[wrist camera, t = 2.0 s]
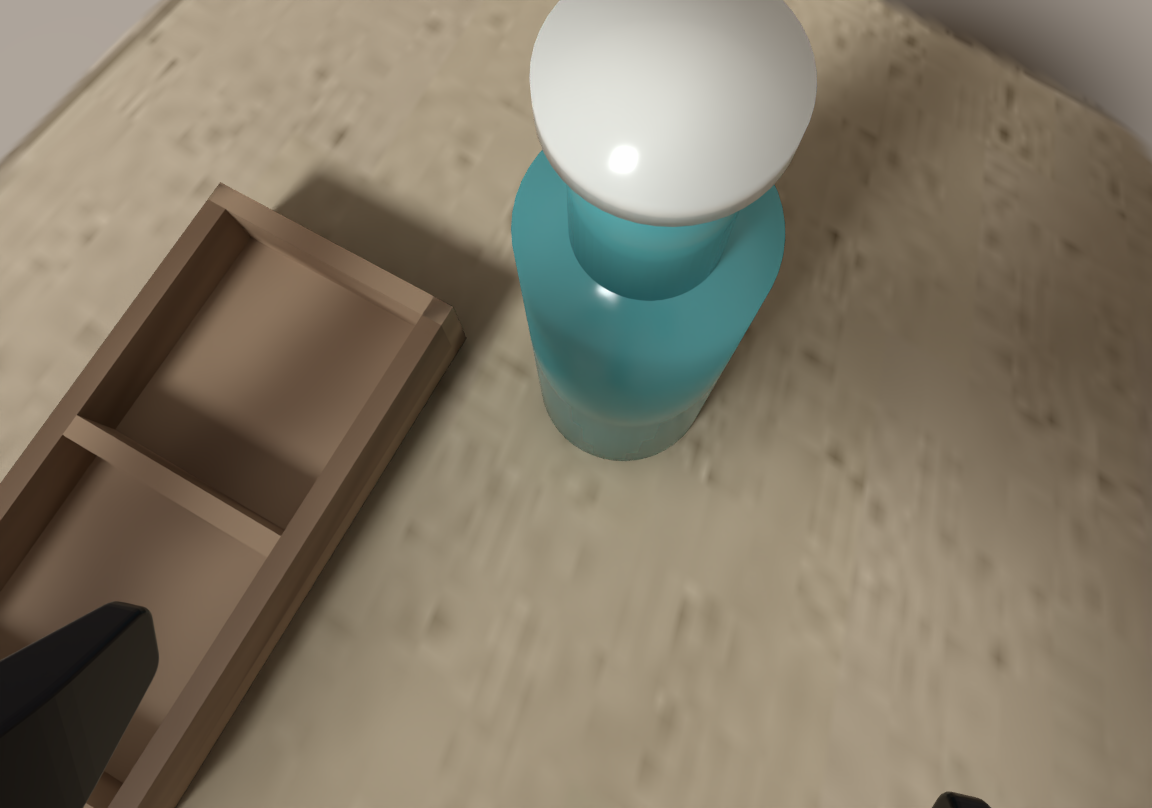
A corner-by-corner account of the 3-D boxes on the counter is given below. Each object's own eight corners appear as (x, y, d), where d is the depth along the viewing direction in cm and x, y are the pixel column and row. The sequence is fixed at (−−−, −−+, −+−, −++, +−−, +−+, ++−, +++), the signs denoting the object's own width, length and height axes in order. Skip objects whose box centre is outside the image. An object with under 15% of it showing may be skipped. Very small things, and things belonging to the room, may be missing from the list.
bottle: (732, 350, 24) (927, 9, 10) (656, 490, 23) (760, 319, 9) (590, 277, 25) (597, -137, 11) (510, 411, 24) (409, 140, 10)
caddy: (466, 337, 24) (453, 306, 22) (164, 824, 21) (108, 853, 19) (256, 224, 25) (220, 182, 23) (-63, 674, 22) (-145, 682, 20)
